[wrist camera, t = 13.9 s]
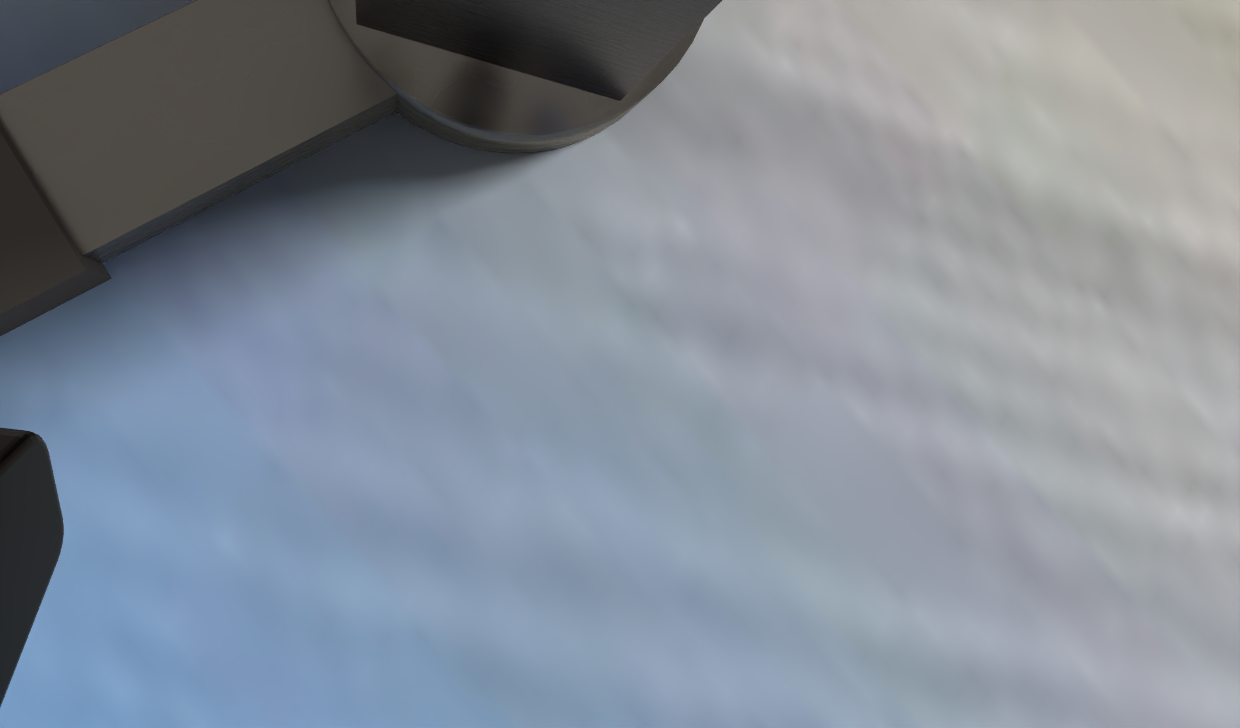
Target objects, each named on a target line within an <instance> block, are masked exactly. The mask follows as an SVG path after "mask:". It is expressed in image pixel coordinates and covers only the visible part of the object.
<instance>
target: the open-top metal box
mask: <svg viewBox="0 0 1240 728" xmlns="http://www.w3.org/2000/svg"><path fill="white" fill-rule="evenodd" d="M355 1H356V24H357V25H361V26H364V27H368V28H371V29H374V30H378V31H381V32H385V33H388V34H392V35H395V36H398V37H402V38H405V39H409V40H412V41H416V42H419V43H422V44H426V45H429V46H433V47H436V48H440V49H443V50H446V51H450V52H453V53H457V54H460V55H464V56H467V57H470V58H474V59H477V60H481V61H484V62H488V63H491V64H494V65H498V66H501V67H505V68H508V69H512V70H515V71H518V72H522V73H525V74H529V75H532V76H536V77H539V78H542V79H546V80H549V81H553V82H556V83H560V84H563V85H566V86H570V87H573V88H577V89H580V90H584V91H587V92H590V93H594V94H597V95H601V96H604V97H608V98H611V99H614V100H618V101H621V100H622V99H623V98H624V97H625V96H626V95H627V94H628V93H629V92H630V91H631V90H632V89H633V88H634V87H635V86H636V85H637V84H638V83H639V82H640V81H641V80H642V79H643V78H644V77H645V76H646V75H647V74H648V73H649V72H650V71H651V70H652V69H653V68H654V67H655V66H656V65H657V64H658V63H659V62H660V61H661V60H662V59H663V58H664V57H665V56H666V55H667V54H668V53H669V52H670V51H671V50H672V49H673V48H674V47H675V46H677V45H678V44H679V43H680V42H681V41H682V40H683V39H684V38H685V37H686V36H687V35H688V34H689V33H690V32H691V31H692V30H693V29H694V28H695V27H696V26H697V25H698V24H699V23H700V22H701V21H702V20H703V19H704V18H705V17H706V16H707V15H708V14H709V13H710V12H711V11H712V10H713V9H714V8H715V7H716V6H717V5H718V4H719V3H720V2H721V1H722V0H355Z"/></svg>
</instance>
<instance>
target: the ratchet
mask: <svg viewBox="0 0 1240 728" xmlns="http://www.w3.org/2000/svg"><path fill="white" fill-rule="evenodd" d="M703 20H704V19H703ZM703 20H702V21H701V22H700V23H699V24H698V25H697V26H696V27H695V28H694V29H693V30H692V31H691V32H690V33H689V34H688V35H687V36H686V37H685V38H684V39H683V40H682V41H681V42H680V43H679V44H678V45H677V46H675V47H674V48H673V49H672V50H671V51H670V52H669V53H668V54H667V55H666V56H665V57H664V58H663V59H662V60H661V61H660V62H659V63H658V64H657V65H656V66H655V67H654V68H653V69H652V70H651V71H650V72H649V73H648V74H647V75H646V76H645V77H644V78H643V79H642V80H641V81H640V82H639V83H638V84H637V85H636V86H635V87H634V88H633V89H632V90H631V91H630V92H629V93H628V94H627V95H626V96H625V97H624V98H623V99H622V100H621V101H618V100H614V99H611V98H608V97H604V96H601V95H597V94H594V93H590V92H587V91H584V90H580V89H577V88H573V87H570V86H566V85H563V84H560V83H556V82H553V81H549V80H546V79H542V78H539V77H536V76H532V75H529V74H525V73H522V72H518V71H515V70H512V69H508V68H505V67H501V66H498V65H494V64H491V63H488V62H484V61H481V60H477V59H474V58H470V57H467V56H464V55H460V54H457V53H453V52H450V51H446V50H443V49H440V48H436V47H433V46H429V45H426V44H422V43H419V42H416V41H412V40H409V39H405V38H402V37H398V36H395V35H392V34H388V33H385V32H381V31H378V30H374V29H371V28H368V27H364V26H361V25H357V24H356V1H355V0H197V1H195V2H193V3H190V4H188V5H186V6H184V7H182V8H180V9H178V10H176V11H174V12H172V13H169V14H167V15H165V16H163V17H161V18H159V19H157V20H155V21H153V22H151V23H149V24H146V25H144V26H142V27H140V28H138V29H136V30H134V31H132V32H130V33H128V34H126V35H123V36H121V37H119V38H117V39H115V40H113V41H111V42H109V43H107V44H105V45H103V46H100V47H98V48H96V49H94V50H92V51H90V52H88V53H86V54H84V55H82V56H79V57H77V58H75V59H73V60H71V61H69V62H67V63H65V64H63V65H61V66H59V67H56V68H54V69H52V70H50V71H48V72H46V73H44V74H42V75H40V76H38V77H36V78H33V79H31V80H29V81H27V82H25V83H23V84H21V85H19V86H17V87H15V88H13V89H10V90H8V91H6V92H4V93H2V94H0V336H1V335H3V334H5V333H7V332H9V331H11V330H13V329H15V328H17V327H19V326H21V325H23V324H24V323H26V322H28V321H30V320H32V319H34V318H36V317H38V316H40V315H42V314H44V313H46V312H47V311H49V310H51V309H53V308H55V307H57V306H59V305H61V304H63V303H65V302H67V301H69V300H71V299H72V298H74V297H76V296H78V295H80V294H82V293H84V292H86V291H88V290H90V289H92V288H94V287H95V286H97V285H99V284H101V283H103V282H105V281H107V280H109V279H111V277H110V275H109V273H108V272H107V270H106V269H105V267H104V265H103V264H102V263H103V262H105V261H107V260H109V259H111V258H113V257H115V256H117V255H119V254H121V253H123V252H125V251H127V250H128V249H130V248H132V247H134V246H136V245H138V244H140V243H142V242H144V241H146V240H148V239H150V238H152V237H154V236H156V235H157V234H159V233H161V232H163V231H165V230H167V229H169V228H171V227H173V226H175V225H177V224H179V223H181V222H183V221H185V220H186V219H188V218H190V217H192V216H194V215H196V214H198V213H200V212H202V211H204V210H206V209H208V208H210V207H212V206H214V205H215V204H217V203H219V202H221V201H223V200H225V199H227V198H229V197H231V196H233V195H235V194H237V193H239V192H241V191H243V190H244V189H246V188H248V187H250V186H252V185H254V184H256V183H258V182H260V181H262V180H264V179H266V178H268V177H270V176H272V175H273V174H275V173H277V172H279V171H281V170H283V169H285V168H287V167H289V166H291V165H293V164H295V163H297V162H299V161H301V160H302V159H304V158H306V157H308V156H310V155H312V154H314V153H316V152H318V151H320V150H322V149H324V148H326V147H328V146H330V145H331V144H333V143H335V142H337V141H339V140H341V139H343V138H345V137H347V136H349V135H351V134H353V133H355V132H357V131H359V130H360V129H362V128H364V127H366V126H368V125H370V124H372V123H374V122H376V121H378V120H380V119H382V118H384V117H386V116H388V115H389V114H391V113H393V112H395V111H396V112H398V113H399V114H401V115H402V116H403V117H405V118H406V119H408V120H409V121H410V122H412V123H413V124H415V125H417V126H419V127H421V128H422V129H424V130H426V131H428V132H430V133H432V134H434V135H436V136H438V137H441V138H443V139H446V140H448V141H451V142H454V143H456V144H459V145H463V146H467V147H471V148H475V149H479V150H483V151H492V152H501V153H533V152H540V151H546V150H552V149H557V148H561V147H564V146H567V145H571V144H574V143H577V142H580V141H582V140H584V139H586V138H588V137H591V136H593V135H595V134H597V133H599V132H601V131H603V130H604V129H606V128H607V127H609V126H610V125H612V124H614V123H615V122H617V121H618V120H620V119H621V118H622V117H623V116H624V115H625V114H627V113H628V112H629V111H630V110H631V109H632V108H634V107H635V106H636V105H637V104H638V103H639V102H640V101H641V100H643V99H644V98H645V97H646V96H647V95H648V94H649V93H650V92H651V91H652V90H653V89H654V88H656V87H657V86H658V85H659V84H660V83H661V82H662V81H663V80H664V79H665V78H666V77H667V75H668V74H669V73H670V72H671V71H672V70H673V69H674V68H675V66H676V65H677V64H678V63H679V62H680V60H681V59H682V57H683V56H684V54H685V53H686V51H687V50H688V48H689V47H690V45H691V44H692V42H693V40H694V38H695V36H696V34H697V32H698V30H699V28H700V26H701V24H702V22H703Z"/></svg>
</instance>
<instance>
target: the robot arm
mask: <svg viewBox="0 0 1240 728" xmlns="http://www.w3.org/2000/svg"><path fill="white" fill-rule="evenodd" d="M63 535H64V525H63V517H62V513H61V508H60V503H59V499H58V494H57V489H56V484H55V480H54V475H53V470H52V465H51V461H50V456H49V452H48V449H47V446H46V444H45V442H44V441H43V439H42V438H41V437H40V436H39V435H37V434H35V433H33V432H30V431H24V430H15V429H6V428H0V707H1V704H2V702H3V699H4V697H5V694H6V691H7V689H8V686H9V684H10V681H11V679H12V676H13V674H14V671H15V668H16V666H17V663H18V661H19V658H20V656H21V653H22V651H23V648H24V645H25V643H26V640H27V638H28V635H29V633H30V630H31V628H32V625H33V622H34V620H35V617H36V615H37V612H38V610H39V607H40V605H41V602H42V599H43V597H44V594H45V592H46V589H47V587H48V584H49V582H50V579H51V576H52V574H53V571H54V569H55V566H56V564H57V561H58V558H59V555H60V552H61V548H62V543H63Z"/></svg>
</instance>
